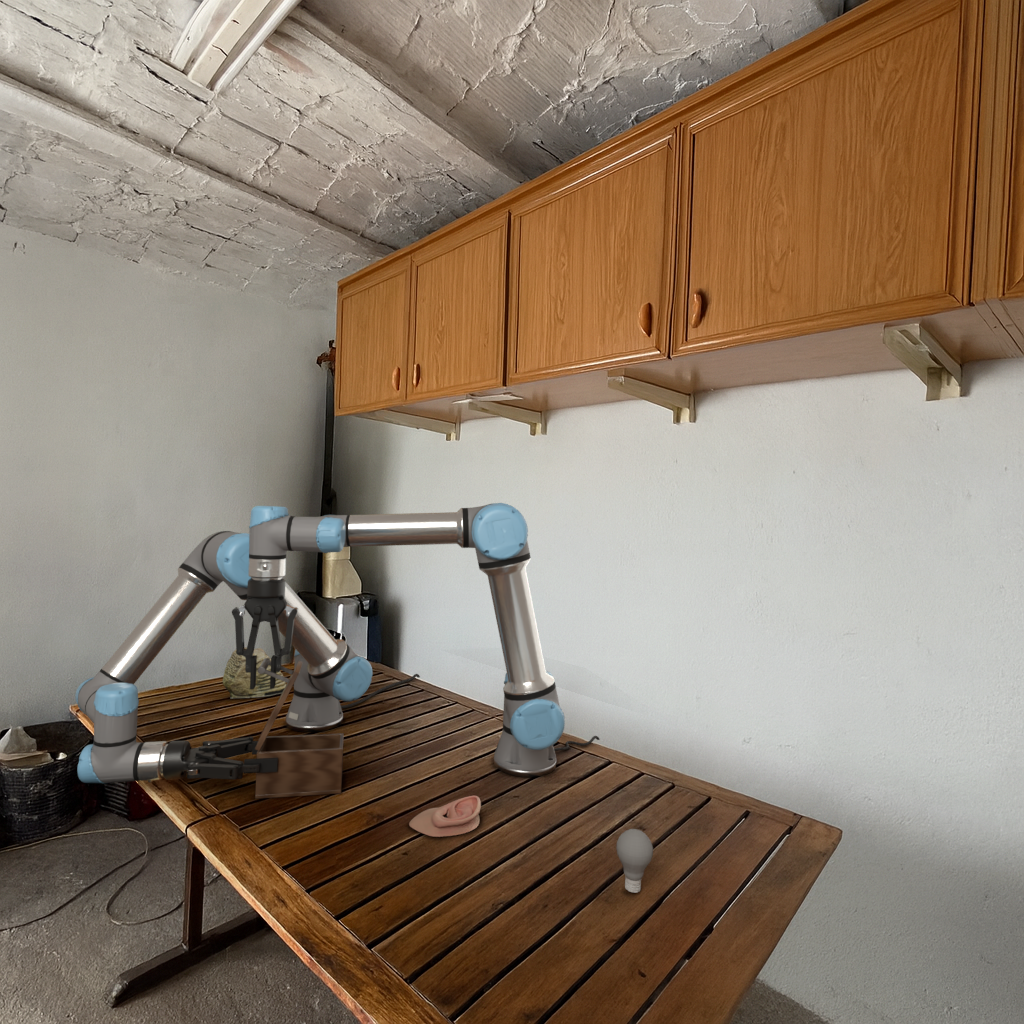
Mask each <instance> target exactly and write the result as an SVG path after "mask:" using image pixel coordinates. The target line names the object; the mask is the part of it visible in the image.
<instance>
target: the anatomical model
mask: <svg viewBox="0 0 1024 1024" xmlns="http://www.w3.org/2000/svg"><path fill="white" fill-rule="evenodd" d="M481 807H482V802H481V799H480V797H479V796H478V795H469V796H464V797H462V798H457V799H456V800H453V801H451V802H449V803H446V804H444V805H441V806H439V807H431V808H427V809H426V810H423V811H421V812H420V813H418V814H416V815H415V816H414V817H413V818H412V819H411V820H409V823H408V825H409V827H410V828H411V829H412V830H415V831H417V832H419V833H421V834H423V835H425V836H428V837H433V838H441V837H442V838H443V837H452V836H458V835H463V834H466V833H469V832H472V831H473V830H475V829H477V828H478V826H480V822H481V820H480V815H479V814H480V812H481Z"/></svg>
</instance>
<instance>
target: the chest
mask: <svg viewBox="0 0 1024 1024" xmlns="http://www.w3.org/2000/svg"><path fill="white" fill-rule="evenodd" d="M344 736H345V733H343V732H342V733H341V732H339V733H321V734H320V733H319V734H296V735H292V734H291V735H273V736H269V735H268V736H267V737H266V739H265V741H264V743H263V745H262V747H261V749H260V751H258V752H257V754H256V759H259V758H278V771H277V772H265V773H255V793H254V794H255V795H254V798H255V800H256V799H257V800H258V799H273V798H286V797H287V798H289V797H302V796H303V797H304V796H319V795H321V796H322V795H334V794H342V785H343V784H342V783H343V767H344V766H343V764H344V741H345V740H344V738H345V737H344Z"/></svg>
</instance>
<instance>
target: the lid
mask: <svg viewBox="0 0 1024 1024" xmlns="http://www.w3.org/2000/svg"><path fill="white" fill-rule="evenodd" d="M269 658H270V657H269ZM269 658H265V659H264V660H263V662H262V663H261V665H260V667H259V668H258V673H259V674H263V673H265V674H267V675H270V676H272V677H274V678H277V679H279V680H282V681H284V682H286V686H285V688H284V690H283V692H282V693H280V696H279V697H278V699H277V702H276V704H275V706H274V708H273V709H272V711H271V713H270V716H269V717H268V719H267V722H266V723H265V725H264V727H263V729H262V731H261V733H260V736H259V738H258V740H257V741H258V742H257V745H256V747H255V750H258V751H260V749H261V747H262V745H263V743H264V741H265V739H266V737H268V736H269V733H270V731H271V730H272V727H273V726H274V723H275V722H276V720H277V717H278V715H279V713H280V712H281V709H282V708H283V706H284V704H285V702H286V701H287V698H288V696H289V694H290V692H291V690H292V688H293V687H294V682H295V680H296V678H297V676H298V675H299V672H300V669H301V666H302V663H303V662H301V661H298V663H297V665H296V667H295V666H294V668H295V669H293V670H292V669H290V668H287V667H285V666H283V665H281V670H280V671H282V672H284V673H287V674H289V675H290V676H289V678H288V677H285V676H284V675H283V676H284V677H283V676H280V675H278V674H276V673H273V672H271V671H268V670H266V669H267V667H268V665H270V666H271V661H270V659H269Z"/></svg>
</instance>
